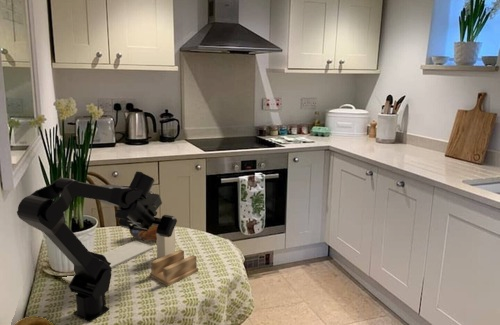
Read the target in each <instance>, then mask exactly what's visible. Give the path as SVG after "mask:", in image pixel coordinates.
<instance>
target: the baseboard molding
mask: <svg viewBox="0 0 500 325" xmlns="http://www.w3.org/2000/svg"><path fill="white" fill-rule="evenodd" d="M135 239H136V238H134V237H133V236H132V239H131V241H130V242H128V243H125V244H123V245H121V246H118V247H116V248H113V249H111V250H108V251H107V252H105V253H104V252H103V253H101V255H104V256H105V257H106V259H107V261H108V262H109V263H111V264H110V265H109V266H110V267H111V269H114V268H116V267H118V266H121V265H123V264H125V263H127V262H129V261H131V260H132V259H135V258H137V257H140V256H141V255H144V254H145V253H148V252H149V251H152V250H154V244H151V243H150V245H149V244H148V242H147V241H145V240H142V239H140V240H139V239H136V240H135ZM151 245H152V246H151ZM73 277H74V276H67V277H62V279H63V280H65V281H66V282H65V281H64V282H65V283H67V282H68V284H69V285H70V283H71V281H72V279H73ZM62 279H61V280H62ZM63 280H62V281H63Z"/></svg>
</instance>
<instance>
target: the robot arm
mask: <svg viewBox="0 0 500 325" xmlns="http://www.w3.org/2000/svg"><path fill="white" fill-rule="evenodd" d="M154 183H155V178H153V177H152V176H149V175H148V174H145V173H144V172H142V171H138V170H137V171H136V172H135V174H134V176H133V178H132V180H131V183H130V184H129V186H128V185H127V186H125V185H116V184H104V185H98V184H92V183H87V182H82V181H78V180H76V179H73V178H66V177H60V178H57V179H55V180H54V181H53V182H51V183H50V184H48V185H46V186H44V187H41V188H39V189H36V190H35V191H34V192H32V193H31V194H29V195H27V196H25V197H24V198H22V199H21V201H20V202H19V204H18V206H17V211H16V215H17V216H18V218H19V219H20V220H22V221H23V222H24V223H26V224H27V225H29V226H31V227H32V228H35V229H37V230H39V231H40V232H42V233H44V234H45V235H46V237H47V238H48V239H49V240H50V241H51V242H52V244H54V245H55V246H56V247H57V248H58V250H60V251H61V253H62V254H63V255H64V256H65V258H67V259H68V260H69V261H70V262H71V263H72V264H73V267H74V273H75V275H74V277H73V279H72V281H71V283H70V284H69V285H68V288H69V290H70V292H71V293H76V294H75V301H76V310H75V311H73V315H74V316H76V317H78V318H80V319H81V320H84V321H86V322H92V321H94V320H95V319H97V318H98V317H100V316H101V315H103V314H105V313H106V312H108V311H110V307H108V306H106V304H107V303H106V293H108V292H109V289H110V284H111V279H112V269H113V268H112V269H111V267H110V266H109V265H110V264H111V263H109V262H108V261H107V259H106V257H105V256H104V255H102V253H101V254H100V253H96V252H94V251H93V252H92V251H89V250H88V248H86V246H85V245H84V243H82V242H81V240H80V239H79V237H78V236H77V235H76V234H75V233H74V232H73V230H72V229H71V228H70V227H69V225H67V224H66V223H65V212H66V211H67V210H68V209H69V208H70V205H71V203H72V200H73V199H75V197H78V198H84V199H90V200H91V199H92V200H98V201H99V202H101V203H103V204H105V205H108V206H113V207H117V209H115V212H116V213H115V217H114V218H116V219H119V220H118V226H120V227H121V228H124V229H127V230H130V229H131V230H139V231H148V230H149V227H150V226H152V225H156V226H158V227H157V234H159V235H160V236H164V237H171V235H172V232H173V230H174V229H175V228H176V225H177V223H178V220H177V218H176V217H175V216H174V215H169V214H164V215H162V216H161V217H156V216H157V215H158V212H157V210H158V209H159V207H160V206H161V205H162V204H163V201H162V199H161V196H160V194H159V193H153V192H151V189H152V187H153V185H154Z"/></svg>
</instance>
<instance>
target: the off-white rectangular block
mask: <svg viewBox="0 0 500 325" xmlns="http://www.w3.org/2000/svg"><path fill="white" fill-rule="evenodd" d="M175 230H176V229H175V228H174V230H173V232H172V235H171V237H164V236H160V235H159V234H156V235H157V240H156V260H157V259H159V258H161V257H164V256H166V255H169V254H171V253H173V252H176V231H175Z"/></svg>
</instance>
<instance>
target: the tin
mask: <svg viewBox="0 0 500 325" xmlns="http://www.w3.org/2000/svg"><path fill="white" fill-rule="evenodd" d="M157 227H158V226H156V225H152V226H150V227H149V230H148V231H139V230H131V229H129V232H130V235H131V237H132V238H133V237H134V238H133V239H135V238H136V240H138V239H139V240H138V241H142V240H144V241H157V235H156V234H157ZM140 239H142V240H140Z"/></svg>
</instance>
